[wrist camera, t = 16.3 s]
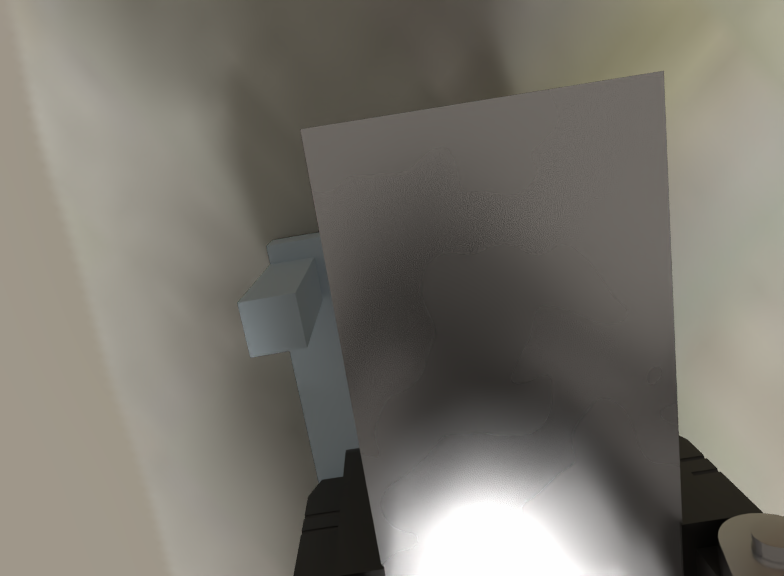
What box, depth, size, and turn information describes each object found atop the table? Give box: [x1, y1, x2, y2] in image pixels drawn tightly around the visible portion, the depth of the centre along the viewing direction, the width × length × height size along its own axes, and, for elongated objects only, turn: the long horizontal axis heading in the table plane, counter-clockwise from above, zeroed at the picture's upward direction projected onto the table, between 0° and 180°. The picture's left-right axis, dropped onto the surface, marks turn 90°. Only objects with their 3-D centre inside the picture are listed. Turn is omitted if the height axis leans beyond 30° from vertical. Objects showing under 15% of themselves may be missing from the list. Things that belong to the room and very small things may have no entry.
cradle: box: [237, 232, 359, 483], centre depth 16 cm, size 9×8×5 cm
